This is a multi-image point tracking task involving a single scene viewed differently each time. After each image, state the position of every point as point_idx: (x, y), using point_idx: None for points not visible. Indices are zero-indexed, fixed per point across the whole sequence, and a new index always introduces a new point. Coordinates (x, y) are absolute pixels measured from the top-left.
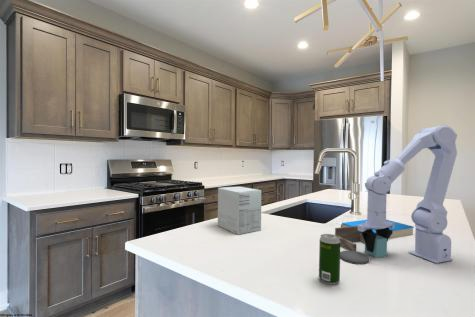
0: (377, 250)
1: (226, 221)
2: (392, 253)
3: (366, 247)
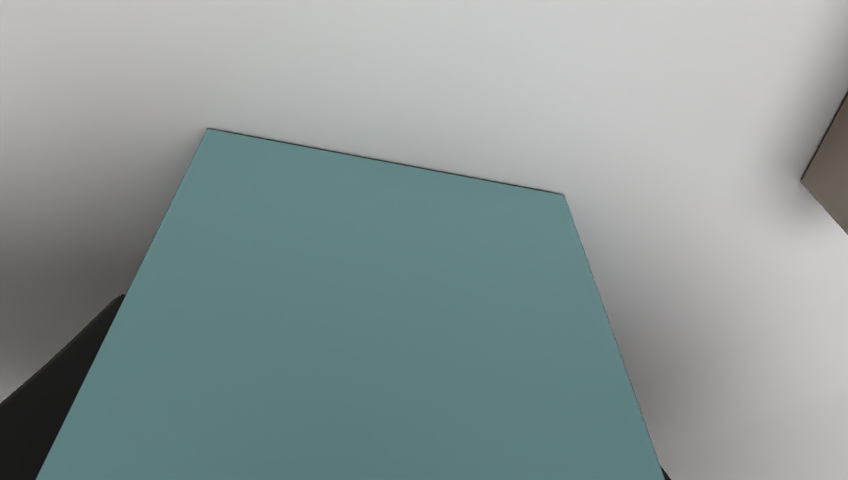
0: None
1: None
2: (743, 436)
3: (80, 335)
